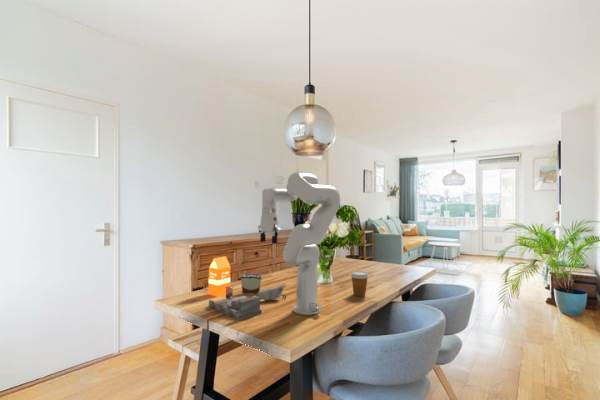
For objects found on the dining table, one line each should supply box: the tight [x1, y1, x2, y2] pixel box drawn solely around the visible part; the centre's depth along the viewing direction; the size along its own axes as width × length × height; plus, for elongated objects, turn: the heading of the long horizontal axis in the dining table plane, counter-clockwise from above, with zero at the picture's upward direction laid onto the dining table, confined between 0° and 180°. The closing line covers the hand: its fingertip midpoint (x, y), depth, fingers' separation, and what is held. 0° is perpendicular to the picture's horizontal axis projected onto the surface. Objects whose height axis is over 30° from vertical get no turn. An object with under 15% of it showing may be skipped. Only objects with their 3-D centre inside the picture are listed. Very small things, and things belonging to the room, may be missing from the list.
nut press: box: [208, 295, 263, 321], centre depth 142 cm, size 25×12×8 cm, turn 47°
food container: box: [239, 273, 263, 295], centre depth 170 cm, size 12×6×10 cm, turn 84°
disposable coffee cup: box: [350, 270, 369, 297], centre depth 167 cm, size 10×10×12 cm
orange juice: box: [208, 256, 231, 298], centre depth 167 cm, size 8×9×20 cm
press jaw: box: [225, 285, 249, 310], centre depth 142 cm, size 10×9×8 cm
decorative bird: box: [255, 284, 287, 302], centre depth 156 cm, size 5×16×8 cm, turn 115°
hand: (268, 242), depth 167 cm, fingers open, 9 cm apart
